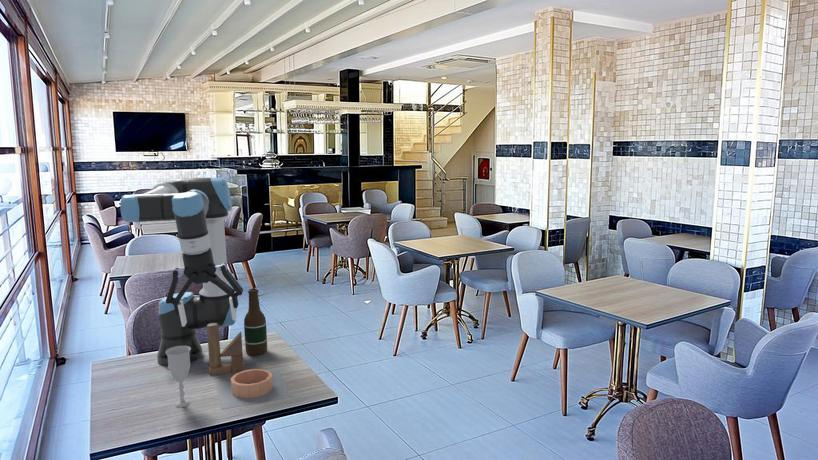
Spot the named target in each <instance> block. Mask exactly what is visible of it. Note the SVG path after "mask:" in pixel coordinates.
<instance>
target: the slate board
mask: <svg viewBox="0 0 818 460" xmlns="http://www.w3.org/2000/svg"><path fill="white" fill-rule="evenodd" d="M271 373H272V378H273V388H272V390H271V391H270V392H269V393H267V394H265V395H262V396H259V397H254V398H239V397H236V396H234V395H232V390H231V379H228V380H223V381H222V380H221V381H216V382H215V385H216V392H217V397H218V399H219V400H218V401H219V406H220V410H227V409H231V408H237V407H242V406H248V405H254V404H258V403H259V404H260V403H264V402H270V401H275V400H281V399H282V400H283V399H286V398H292V395H291V392H290V391H289V388H288V387H287V385H286V382H285V380H284V378H283V376H282V374H281V372H280V371H276V372H271ZM253 383H258V382H253ZM247 384H252V383H247Z"/></svg>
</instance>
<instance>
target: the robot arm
mask: <svg viewBox="0 0 818 460" xmlns="http://www.w3.org/2000/svg"><path fill="white" fill-rule="evenodd" d="M119 203H120V206H119V207H120V215H121V217H122V220H123V221H124V222H126V223H143V222H144V223H147V222H160V221H161V222H163V221H164V222H166V221H168V222H169V221H172V222H173V221H175V224H176V229H177V235H178V236H177V237H178V240H179V245H180V246H179V247H180V250H181V252H182V253H181V257H182V260H183V267H184V268H180V267H175V268H174V270H173V271H172V281H171V284H170V287H169V290H168V293H167V296H165V297H162V299H161V300H160V301H158V317H159V330H160V338H161V339H160V343H159V348H158V351H157V357H156V358H157V359H156V360H157V363H158V364H160V365H162V366H168V356H167V354H166V353H165V352H166V350H167V349H169V348H172V347H176V346H189V347H191V350H190V352H189V354H190V364H191V363H194V362H196V361H198V360H200V359H201V358H202V357H203V355H204V353H203V347H202V345H201V343H200V340H199V339H198V335H197V330H201V329H207V325H208V324H210V323H217V324H218V327H219V328H225V327H230V326H231V327H232V326H234V325H235V323H236V321H237V309H238V306H239V299H238V296H242V295H243V292H244V288H243V287H242V286H241V285H240V283H239V281H237V279H236V278H235V276H233V274H232V273H231V272H230V270H229V269H228V259H227V247H226V246H227V245H226V235H225V233H226V232H225V231H226V230H225V220H226V219H228V217H229V212H231V211H232V210H233V205H232V198H231V193H230V189H229V185H228V182H227V180H226V179H225V178H223V177H193V178H192V177H191V178H175V179H170V180H168V181H164V182H160V183H158V184H156V185H154V186H153V187H152V188H151V189H150V190H149V191H146V192H144V193H139V194H135V193H132V194H125V195H122V197H121V199H120V202H119ZM183 275H184V276H185V277H186V278H188V279H186V280H187V281H186V282H185V283H184V284H183V287H182V288H181V289H180V290H179V292H177V293H175V292H176V289H177V286H178V283H179V279H180V278H181V277H182V276H183ZM193 283H194V284H196V285H199V284H202V288H201V289H200V290H199V292H198V294H199V295H197V296H194V293H193V292H192V291H188V289H189V288H190V287H191V285H192V284H193Z"/></svg>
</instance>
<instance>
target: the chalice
mask: <svg viewBox="0 0 818 460" xmlns="http://www.w3.org/2000/svg"><path fill="white" fill-rule="evenodd" d="M190 350H191V347H189V346H176V347H172V348H169V349H167V350H166V352H165V353H166V354H167V356H168V370H169V372H170V374H171V376H172V378H173V379H174V381H175V382H178V387H177V388H178V389H179V393H178V395H179V400H178V401H177V402H176V403H175V407H176V408H185V407H188V406H190V401H189V400H187V399H185V397H184V396H185V393H186V392H184V389H185V386H184V384H183V383H184V382H183V381H185V380H186V379H187V376H188V373H189V372H190V368H191V363H190V354H189V352H190ZM176 408H174V409H173V413H176Z"/></svg>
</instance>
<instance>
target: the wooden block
mask: <svg viewBox="0 0 818 460" xmlns="http://www.w3.org/2000/svg"><path fill="white" fill-rule="evenodd" d="M219 329H220V327H218V324H217V323H210V324H208V325H207V328H206V332H207V333H206V334H207V345H208V360H209V362H208V363H209V367H208V375H209V376H215V375H221V374H222V375H223V374H231V373H232V374H233V373H239V372H242V371H244V367H245V366H244V353H243V338H242V331H240V332H239V333H238V334H237V335H236V336H235V337H234V338H233V339H232V341H230V343H228V345H227V346H226V347H225V348H224V349H223V350H222V351H221V343H220V330H219ZM225 357H230V361H231V364H230V363H227V362H226V363H222V359H221V358H225Z"/></svg>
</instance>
